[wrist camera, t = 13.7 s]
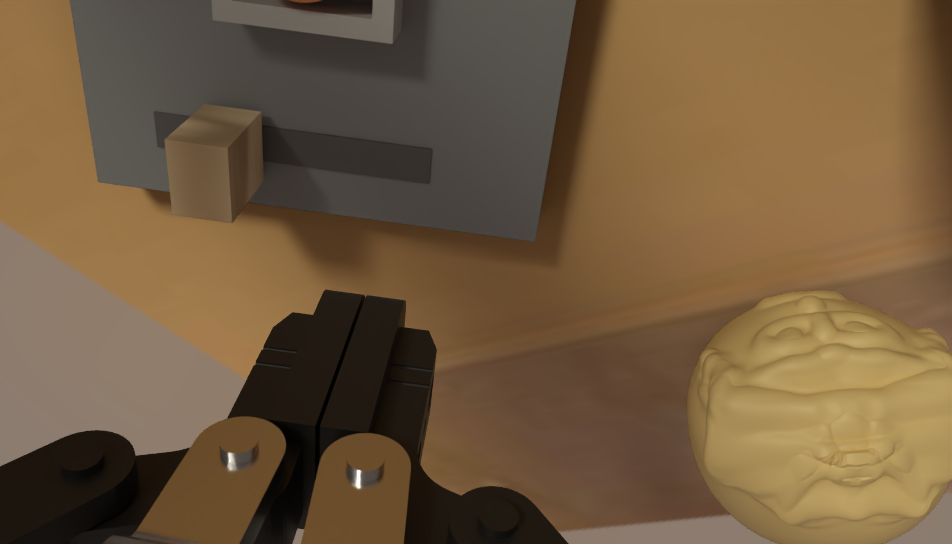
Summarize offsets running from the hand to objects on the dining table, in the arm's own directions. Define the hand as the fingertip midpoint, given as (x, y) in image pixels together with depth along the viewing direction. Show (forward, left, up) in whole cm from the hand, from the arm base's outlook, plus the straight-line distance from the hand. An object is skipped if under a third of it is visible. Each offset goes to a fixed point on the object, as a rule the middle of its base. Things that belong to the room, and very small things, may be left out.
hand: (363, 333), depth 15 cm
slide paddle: (-9, -5, -19) cm, 22 cm away
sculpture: (+18, -14, -22) cm, 32 cm away
